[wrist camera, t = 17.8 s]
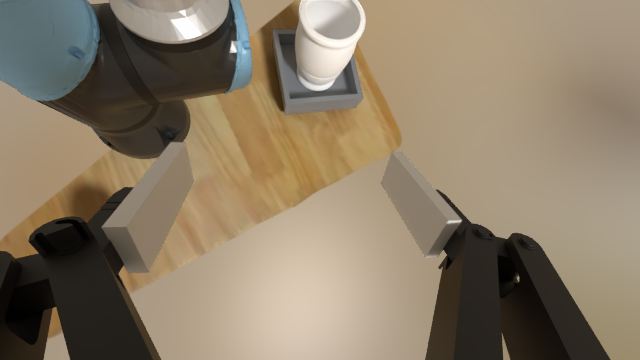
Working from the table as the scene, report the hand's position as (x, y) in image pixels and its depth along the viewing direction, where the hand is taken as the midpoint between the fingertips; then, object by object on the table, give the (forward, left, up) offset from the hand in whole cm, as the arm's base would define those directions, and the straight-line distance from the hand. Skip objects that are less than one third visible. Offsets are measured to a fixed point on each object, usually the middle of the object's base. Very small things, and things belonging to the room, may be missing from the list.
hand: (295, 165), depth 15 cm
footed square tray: (+12, +26, -33) cm, 43 cm away
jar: (+12, +26, -30) cm, 41 cm away
